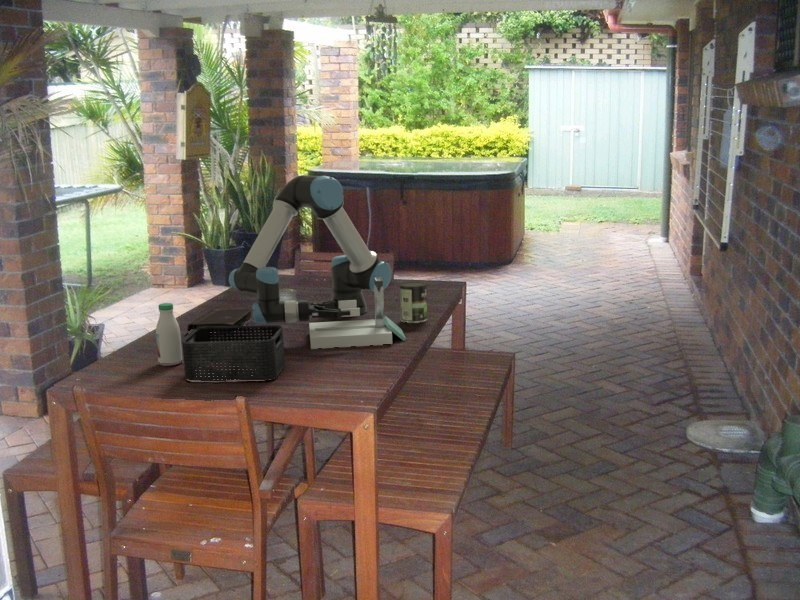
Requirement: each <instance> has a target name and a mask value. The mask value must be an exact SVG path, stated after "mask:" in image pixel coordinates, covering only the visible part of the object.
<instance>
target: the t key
mask: <svg viewBox="0 0 800 600" xmlns="http://www.w3.org/2000/svg"><path fill="white" fill-rule="evenodd" d="M374 283H375V285H374V291H373V293H374V295H373V296H374V319H375V328H381V327H385V318H384V316H385V302H384V301H385V300H384V298H385V297H384V290H383V280H382V278H381V277H376V278H374Z"/></svg>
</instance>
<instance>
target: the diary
mask: <svg viewBox="0 0 800 600" xmlns="http://www.w3.org/2000/svg"><path fill="white" fill-rule="evenodd" d="M252 311H253V307H250V308H249V307H231V308H230V307H228V308H213V309H211V310H209V311H208V312H206V313H205V314H202V315H201V316H199V317H198V318H196V319H195V320H194V321H192V322H190V323H188V324H187V332H188V331H190V330H191V329H193V330H195V329H197V328H201V327H218V326H243V325H244V323H245V322H246V321H248V320H249V319H250V318H252ZM227 332H228V331H227ZM230 332H232V331H230Z"/></svg>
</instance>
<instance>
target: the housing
mask: <svg viewBox="0 0 800 600" xmlns="http://www.w3.org/2000/svg"><path fill="white" fill-rule="evenodd" d="M308 324H309V325H308V328H309V340H310V342H309V343H310V349H311V350H319V349H318V348H322V349H335V348H334V347H339V348H350V347H351V346H356V347H369V346H370V345H373V346H384V345H383V344H391V345H393V333H392V331H391V330H390V329H389V328H387V327H386V324H385V327H381V328H375V318H374V319H360V320H359V319H355V320H341V321H340V320H337V321H323V322H322V321H321V322H317V321H316V322H308ZM351 348H352V347H351Z"/></svg>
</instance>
